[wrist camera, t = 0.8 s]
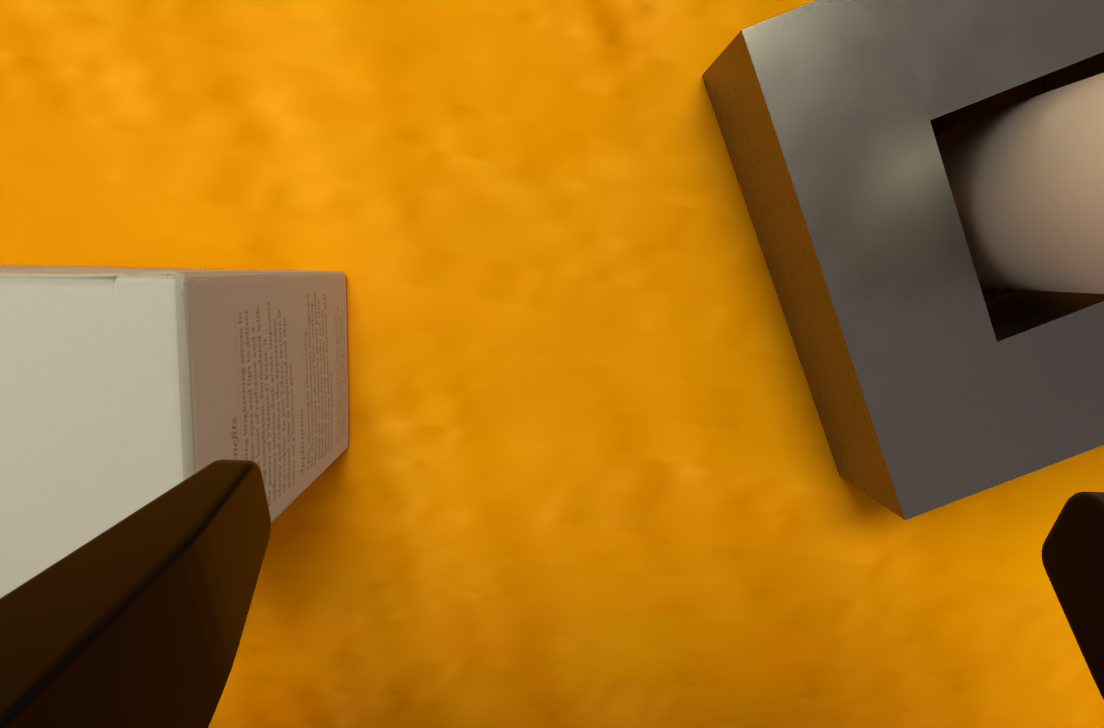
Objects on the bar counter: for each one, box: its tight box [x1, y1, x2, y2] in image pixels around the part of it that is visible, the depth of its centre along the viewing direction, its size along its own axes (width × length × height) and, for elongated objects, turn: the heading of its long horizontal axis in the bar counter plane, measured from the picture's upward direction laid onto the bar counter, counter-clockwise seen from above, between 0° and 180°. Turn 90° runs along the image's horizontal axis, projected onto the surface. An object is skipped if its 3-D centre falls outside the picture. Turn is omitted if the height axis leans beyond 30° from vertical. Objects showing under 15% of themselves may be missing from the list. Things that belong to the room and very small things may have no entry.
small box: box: [0, 265, 348, 598], centre depth 16 cm, size 8×6×10 cm
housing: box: [702, 0, 1104, 520], centre depth 20 cm, size 13×13×4 cm
